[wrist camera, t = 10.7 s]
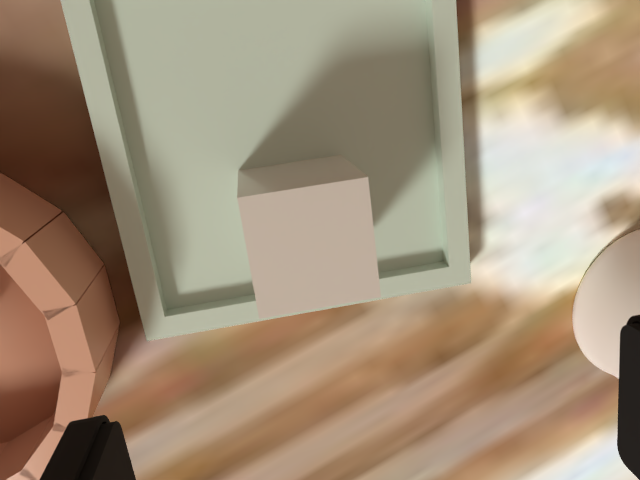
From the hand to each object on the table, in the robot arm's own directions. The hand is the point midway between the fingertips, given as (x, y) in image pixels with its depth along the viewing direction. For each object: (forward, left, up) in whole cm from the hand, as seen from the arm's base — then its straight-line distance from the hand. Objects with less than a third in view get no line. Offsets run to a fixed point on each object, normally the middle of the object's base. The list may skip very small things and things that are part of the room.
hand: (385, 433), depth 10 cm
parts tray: (-4, 0, -16) cm, 17 cm away
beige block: (0, 0, -16) cm, 16 cm away
